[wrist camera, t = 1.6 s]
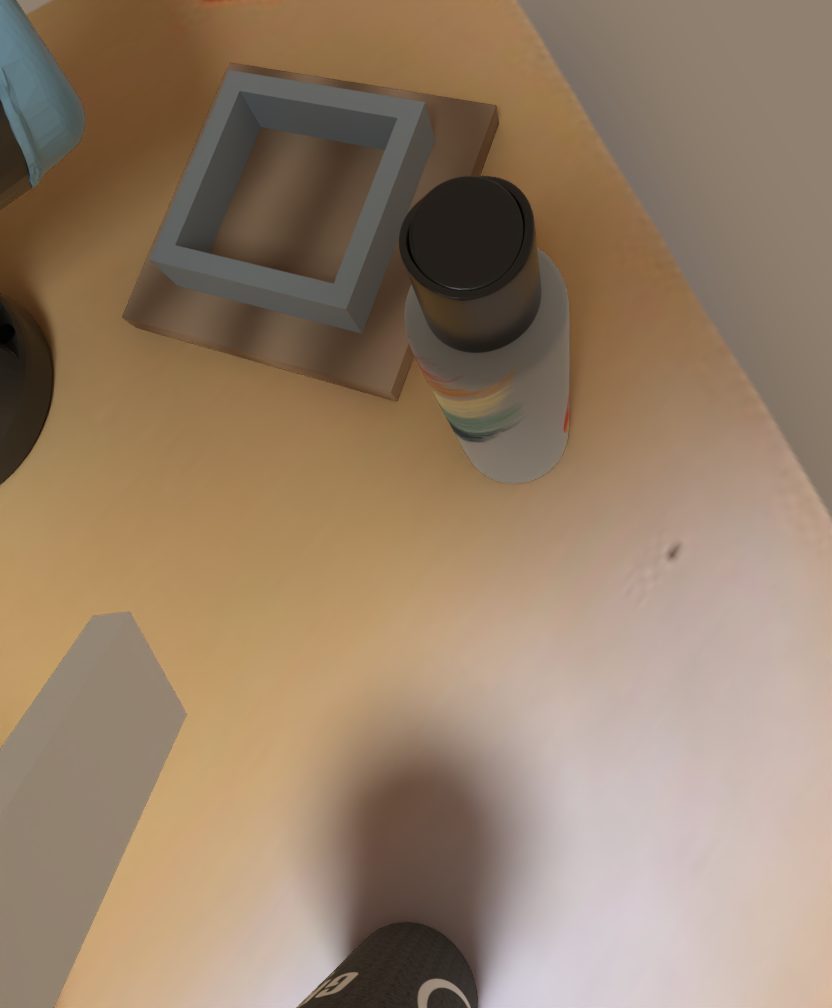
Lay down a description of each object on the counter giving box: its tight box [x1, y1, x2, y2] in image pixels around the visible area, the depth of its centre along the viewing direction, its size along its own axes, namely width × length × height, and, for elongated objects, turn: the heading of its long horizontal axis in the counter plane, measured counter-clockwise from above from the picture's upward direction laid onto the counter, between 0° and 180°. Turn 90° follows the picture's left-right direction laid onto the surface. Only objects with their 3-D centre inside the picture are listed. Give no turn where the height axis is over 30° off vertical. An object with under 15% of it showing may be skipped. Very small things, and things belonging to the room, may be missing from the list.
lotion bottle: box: [399, 176, 570, 484], centre depth 29 cm, size 6×6×20 cm
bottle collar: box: [150, 70, 435, 334], centre depth 41 cm, size 12×12×3 cm
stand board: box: [122, 63, 499, 401], centre depth 43 cm, size 18×18×2 cm
